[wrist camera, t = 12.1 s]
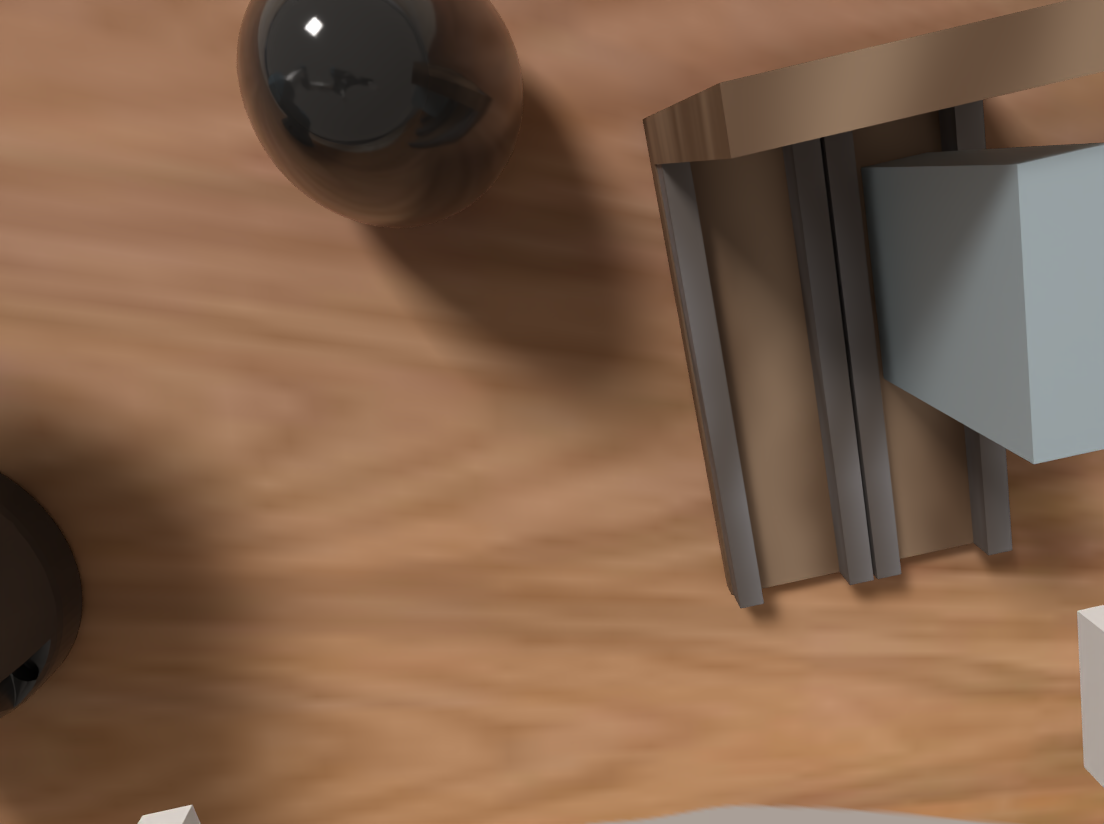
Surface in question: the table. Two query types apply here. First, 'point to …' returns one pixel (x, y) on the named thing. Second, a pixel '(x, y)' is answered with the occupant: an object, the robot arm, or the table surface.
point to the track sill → (832, 297)
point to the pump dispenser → (383, 102)
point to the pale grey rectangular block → (995, 290)
